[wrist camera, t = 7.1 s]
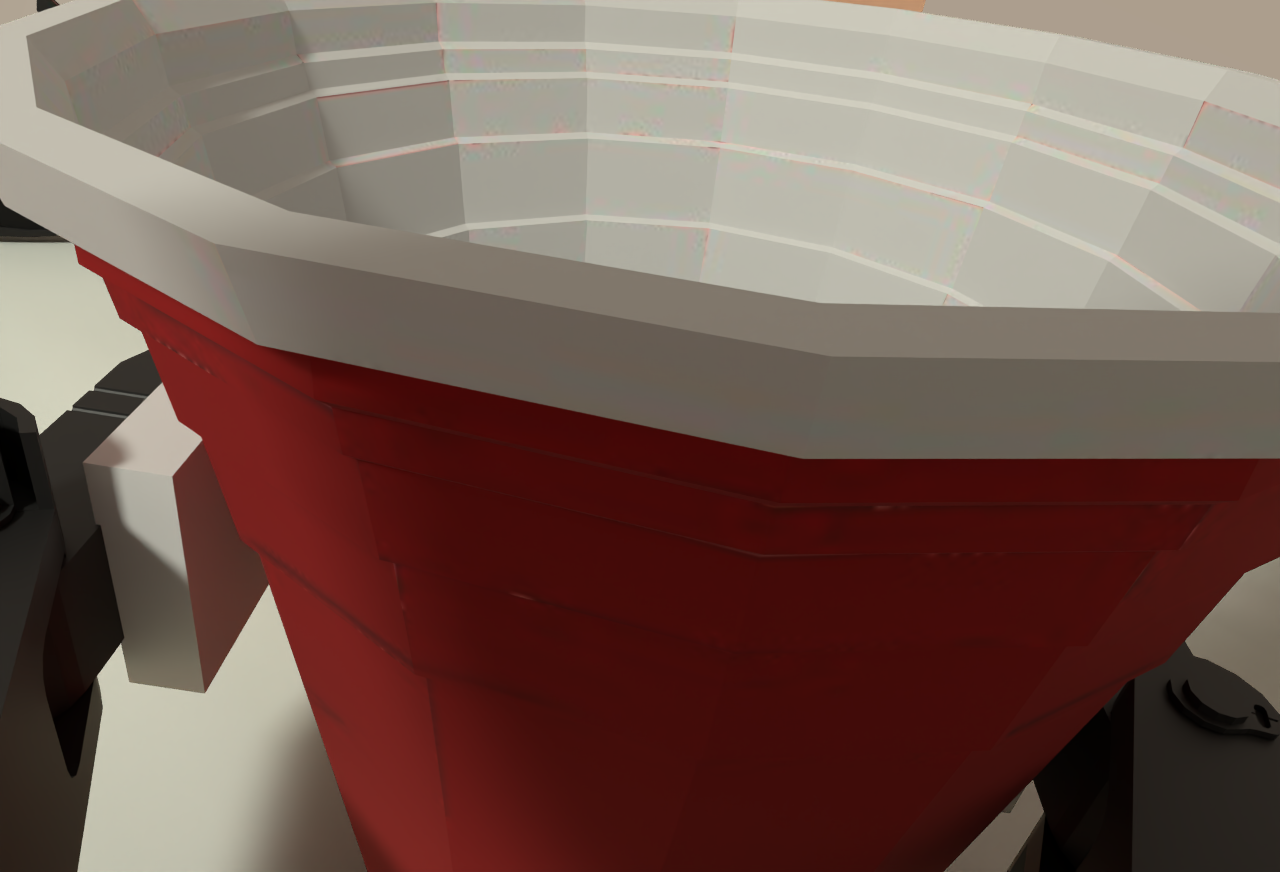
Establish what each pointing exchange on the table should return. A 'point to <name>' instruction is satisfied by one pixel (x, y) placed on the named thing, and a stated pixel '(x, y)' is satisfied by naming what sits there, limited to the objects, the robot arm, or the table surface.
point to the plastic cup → (685, 392)
